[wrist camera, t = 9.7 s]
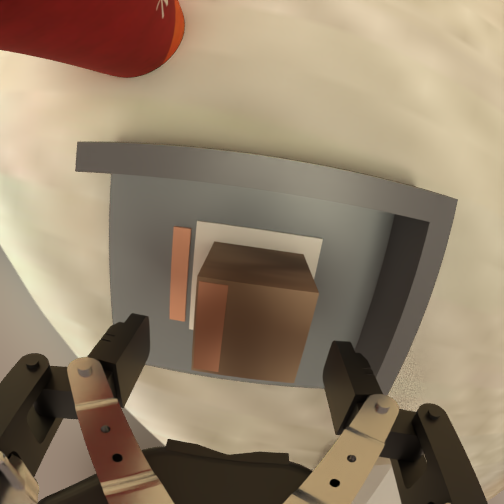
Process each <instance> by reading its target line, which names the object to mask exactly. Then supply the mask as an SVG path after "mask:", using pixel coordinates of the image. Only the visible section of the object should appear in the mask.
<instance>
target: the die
mask: <svg viewBox="0 0 504 504" xmlns="http://www.w3.org/2000/svg"><path fill="white" fill-rule="evenodd" d="M351 504H401V500H400V496H399V492H398V488H397V484H396V480H395V476H394V472H393V468H392V465H391V461H390V458H384V457H378V459H377V461H376V463H375V464H374V466H373V468H372V470H371V472H370V473H369V475H368V477H367V479H366V480H365V482H364V484H363V485H362V487H361V489H360V490H359V492H358V494H357V495H356V497H355V498H354V500H353V501H352V503H351Z"/></svg>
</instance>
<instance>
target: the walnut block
mask: <svg viewBox="0 0 504 504" xmlns="http://www.w3.org/2000/svg"><path fill="white" fill-rule="evenodd" d="M318 295H319V292H318V289H317V287H316V284H315V282H314V279H313V277H312V274H311V272H310V269H309V267H308V264H307V262H306V259H305V257H304V254H298V253H291V252H285V251H278V250H271V249H264V248H257V247H250V246H243V245H236V244H229V243H222V242H215V241H214V243H213V245H212V247H211V249H210V251H209V253H208V255H207V257H206V259H205V261H204V263H203V265H202V267H201V269H200V272H199V274H198V276H197V284H196V297H195V312H194V327H193V345H192V367H191V370H194V371H199V372H205V373H211V374H218V375H225V376H232V377H239V378H247V379H255V380H264V381H274V382H285V383H294V381H295V378H296V375H297V371H298V368H299V365H300V361H301V358H302V355H303V351H304V348H305V344H306V340H307V337H308V333H309V330H310V326H311V322H312V319H313V315H314V311H315V307H316V303H317V299H318Z"/></svg>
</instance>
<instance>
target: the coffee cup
mask: <svg viewBox="0 0 504 504" xmlns="http://www.w3.org/2000/svg"><path fill="white" fill-rule="evenodd" d="M184 27H185V23H184V16H183V13H182V10H181V7H180V4H179V2H178V0H0V50H4V51H10V52H16V53H21V54H26V55H31V56H36V57H40V58H45V59H49V60H54V61H58V62H62V63H66V64H70V65H74V66H78V67H82V68H86V69H89V70H93V71H97V72H100V73H104V74H108V75H112V76H117V77H126V78H128V77H137V76H141V75H144V74H147V73H149V72H151V71H153V70H155V69H157V68H158V67H160V66H161V65H162V64H164V63H165V62H166V61H167V60H168V59H169V58H170V57H171V56H172V55H173V54H174V52H175V51H176V49H177V48H178V46H179V44H180V42H181V40H182V37H183V34H184Z"/></svg>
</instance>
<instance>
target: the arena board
mask: <svg viewBox="0 0 504 504" xmlns="http://www.w3.org/2000/svg"><path fill="white" fill-rule="evenodd" d="M75 171H76V172H95V173H110V174H111V188H110V212H109V266H110V290H111V305H112V318H113V325H114V324H116V323H118V322H125V321H126V320H127V318H128V317H129V316H130V314H131V313H135V314H140V315H145V316H148V317H149V325H150V353H149V357H148V359H147V361H146V363H145V365H149V366H154V367H159V368H163V369H168V370H173V371H178V372H184V373H189V374H195V375H201V376H207V377H213V378H220V379H226V380H234V381H241V382H249V383H258V384H268V385H278V386H290V387H304V388H322V389H325V388H324V384H323V369H324V365H325V362H326V359H327V356H328V353H329V350H330V347H331V344H332V342H333V341H334V340H335V341H350V342H351V344H352V346H353V348H354V351H355V353H361V354H362V355H363V356H364V357H365V358H366V359H367V360H368V362H369V364H370V367H371V369H372V371H373V373H374V375H375V377H376V380H377V382H378V384H379V386H380V388H381V391H382V393H383V395H388V393H389V391H390V389H391V387H392V385H393V383H394V381H395V379H396V377H397V375H398V373H399V371H400V369H401V367H402V365H403V363H404V360H405V358H406V356H407V354H408V352H409V349H410V347H411V345H412V342H413V340H414V338H415V335H416V333H417V331H418V328H419V326H420V323H421V321H422V318H423V316H424V313H425V310H426V308H427V305H428V302H429V300H430V297H431V294H432V291H433V288H434V285H435V282H436V279H437V276H438V273H439V270H440V267H441V263H442V260H443V257H444V253H445V250H446V246H447V242H448V239H449V235H450V231H451V227H452V223H453V219H454V214H455V210H456V205H457V201H458V199H455V198H451V197H448V196H445V195H442V194H439V193H435V192H432V191H428V190H425V189H421V188H418V187H414V186H411V185H407V184H403V183H399V182H395V181H391V180H387V179H383V178H379V177H375V176H371V175H366V174H362V173H357V172H353V171H348V170H344V169H339V168H334V167H329V166H324V165H319V164H313V163H308V162H302V161H296V160H291V159H285V158H278V157H272V156H265V155H258V154H251V153H244V152H236V151H228V150H219V149H210V148H200V147H190V146H178V145H165V144H149V143H129V142H77V154H76V169H75ZM214 241H215V242H222V243H229V244H236V245H243V246H250V247H257V248H264V249H271V250H278V251H285V252H291V253H298V254H304V257H305V259H306V262H307V264H308V267H309V269H310V272H311V274H312V277H313V279H314V282H315V284H316V287H317V289H318V292H319V295H318V299H317V303H316V307H315V311H314V315H313V319H312V322H311V326H310V330H309V333H308V337H307V340H306V344H305V348H304V351H303V355H302V358H301V361H300V365H299V368H298V371H297V375H296V378H295V381H294V383H285V382H274V381H264V380H255V379H247V378H239V377H232V376H225V375H218V374H211V373H205V372H199V371H194V370H191V367H192V345H193V327H194V312H195V297H196V284H197V276H198V274H199V272H200V269H201V267H202V265H203V263H204V261H205V259H206V257H207V255H208V253H209V251H210V249H211V247H212V245H213V243H214Z"/></svg>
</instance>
